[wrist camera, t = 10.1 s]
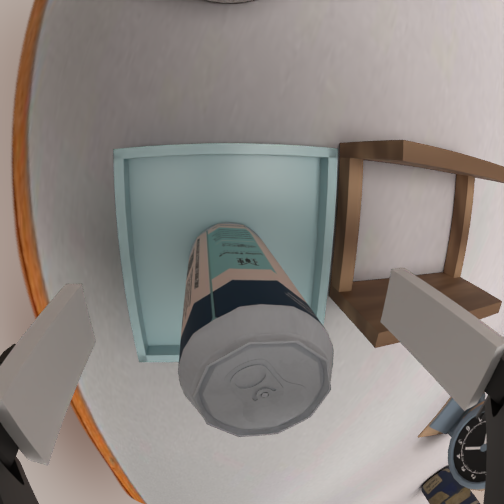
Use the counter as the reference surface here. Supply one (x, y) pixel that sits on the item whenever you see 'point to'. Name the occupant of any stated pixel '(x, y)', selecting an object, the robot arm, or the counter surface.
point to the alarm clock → (463, 442)
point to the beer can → (249, 338)
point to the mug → (230, 1)
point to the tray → (217, 222)
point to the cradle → (447, 282)
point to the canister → (447, 490)
